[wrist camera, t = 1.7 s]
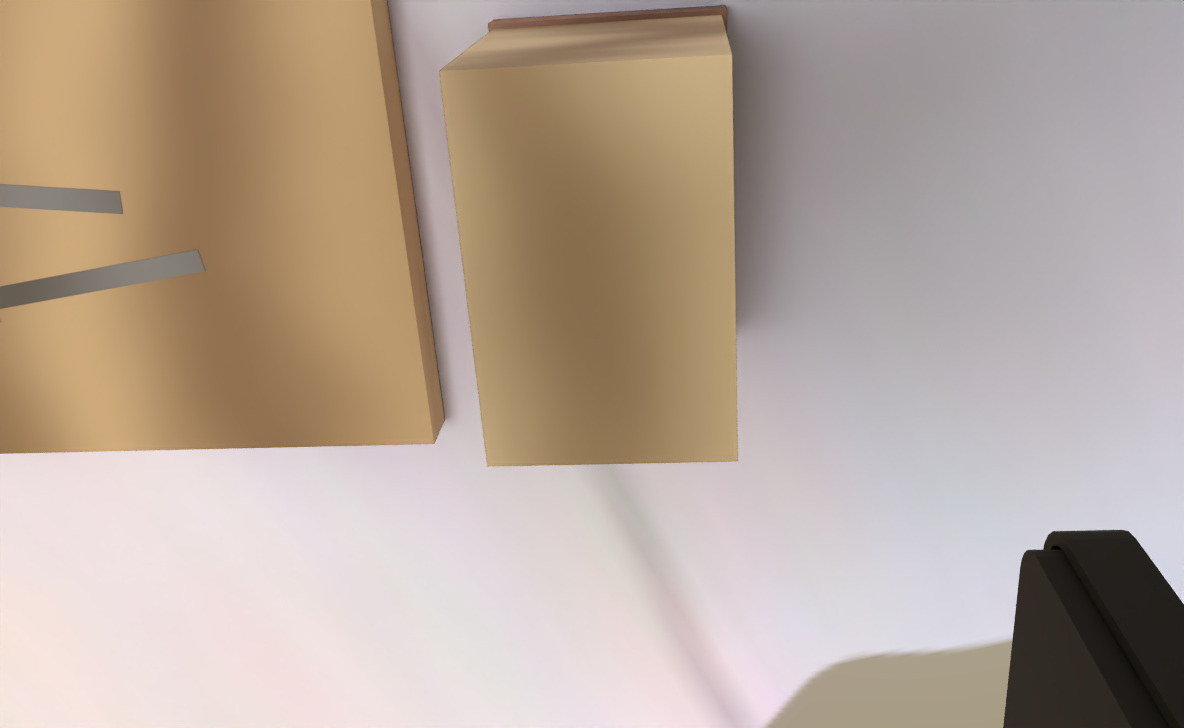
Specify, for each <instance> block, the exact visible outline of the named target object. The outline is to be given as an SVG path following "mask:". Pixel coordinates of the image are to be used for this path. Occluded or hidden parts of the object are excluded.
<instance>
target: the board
mask: <svg viewBox="0 0 1184 728" xmlns="http://www.w3.org/2000/svg"><path fill="white" fill-rule="evenodd" d="M444 421H445V418H444V411H443V404H442V396H441V389H440V382H439V375H438V367H437V360H436V353H435V346H434V338H433V331H432V324H431V317H430V309H429V302H428V295H427V287H426V280H425V273H424V266H423V258H422V251H421V244H420V237H419V229H418V222H417V215H416V208H415V200H414V193H413V186H412V179H411V171H410V164H409V157H408V150H407V142H406V135H405V128H404V120H403V113H402V106H401V99H400V91H399V84H398V77H397V70H396V62H395V55H394V48H393V41H392V33H391V26H390V19H389V12H388V4H387V0H0V454H4V453H48V452H93V451H137V450H182V449H226V448H271V447H315V446H360V445H404V444H434V443H435V441H436V439H437V436H438V434H439V432H440V430H441V427H442V425H443V423H444Z"/></svg>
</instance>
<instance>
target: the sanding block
mask: <svg viewBox="0 0 1184 728" xmlns="http://www.w3.org/2000/svg"><path fill="white" fill-rule="evenodd" d="M488 29H489V33H487V34H486V35H485V36H484V37H482V38H481V39H480V40H478V41H477V42H476V43H475V44H473V45H472V46H471V47H469V48H468V49H467V50H466V51H464V52H463V53H462V54H460V55H459V56H458V57H457V58H455V59H454V60H453V61H451V62H450V63H449V64H448V65H446V66H445V67H444V68H442V69H441V70H440V71H439V75H440V83H441V91H442V99H443V107H444V116H445V124H446V132H447V140H448V148H449V157H450V165H451V173H452V181H453V189H454V198H455V206H456V214H457V222H458V230H459V239H460V247H461V255H462V263H463V271H464V280H465V288H466V296H467V304H468V312H469V321H470V329H471V337H472V345H473V353H474V362H475V370H476V378H477V386H478V394H479V403H480V411H481V419H482V427H483V435H484V444H485V452H486V460H487V466H532V465H582V464H631V463H681V462H731V461H738V434H737V363H736V293H735V223H734V152H733V82H732V52H731V48H730V45H729V41H728V37H727V9H726V6H725V5H721V6H705V7H689V8H672V9H656V10H640V11H624V12H608V13H592V14H575V15H559V16H543V17H527V18H511V19H495V20H493V21H491V22H490V23H488Z"/></svg>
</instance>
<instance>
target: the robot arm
mask: <svg viewBox="0 0 1184 728" xmlns="http://www.w3.org/2000/svg"><path fill="white" fill-rule="evenodd" d="M1003 728H1184V604H1183V603H1182V601H1181V600H1180V599H1179V597H1178V596H1177V595H1176V593H1175V592H1174V590H1173V589H1172V588H1171V586H1170V585H1169V584H1168V582H1167V581H1166V579H1165V578H1164V577H1163V575H1162V574H1161V573H1160V571H1159V570H1158V568H1157V567H1156V566H1155V564H1154V563H1153V562H1152V560H1151V559H1150V557H1149V556H1148V555H1147V553H1146V552H1145V551H1144V549H1143V548H1142V547H1141V545H1140V544H1139V542H1138V541H1137V540H1136V538H1135V537H1134V536H1133V535H1132V534H1131V533H1130V532H1129V531H1124V530H1097V531H1053V532H1052V533H1051V534H1049V535H1048V537H1047V539H1046V541H1045V544H1044V549H1043V550H1028V551H1026V552H1025V553H1024V555H1023V558H1022V562H1021V567H1020V576H1019V585H1018V595H1017V604H1016V614H1015V623H1014V632H1013V642H1012V651H1011V661H1010V670H1009V679H1008V690H1007V698H1006V707H1005V717H1004V727H1003Z"/></svg>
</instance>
